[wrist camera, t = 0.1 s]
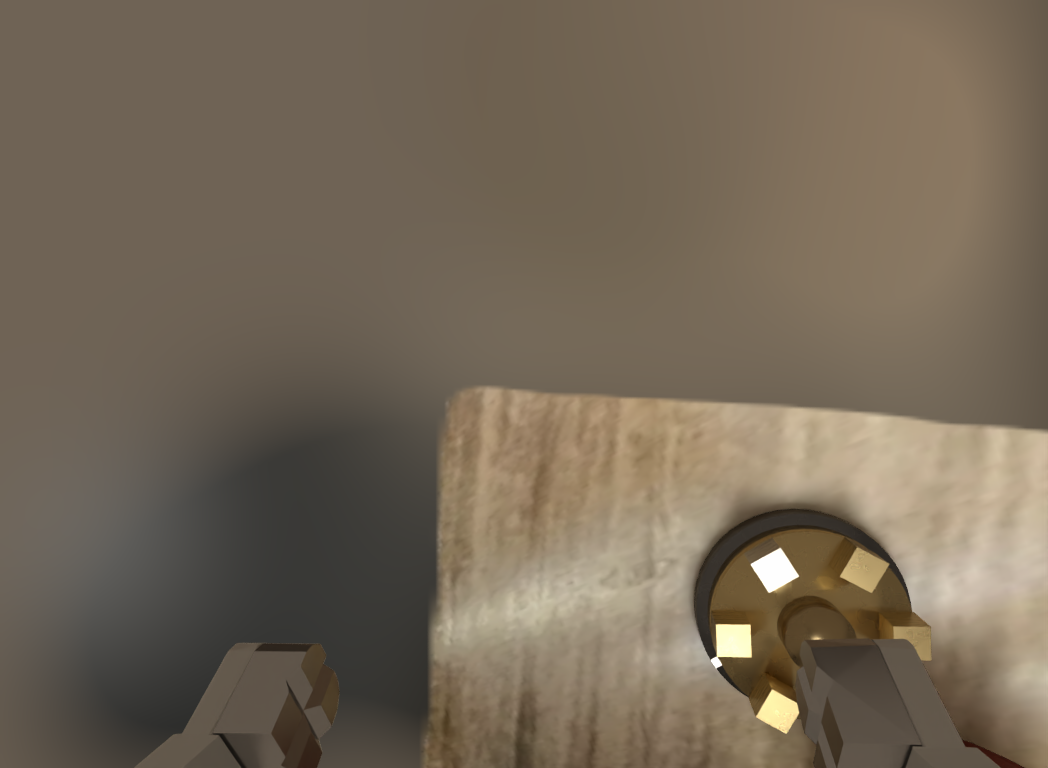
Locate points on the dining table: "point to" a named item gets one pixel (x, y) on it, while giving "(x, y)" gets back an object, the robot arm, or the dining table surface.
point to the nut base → (752, 529)
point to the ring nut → (801, 610)
